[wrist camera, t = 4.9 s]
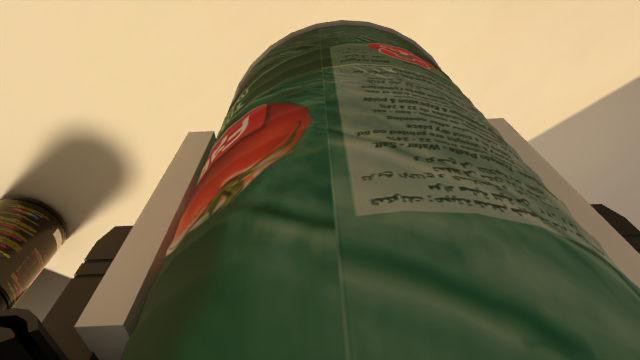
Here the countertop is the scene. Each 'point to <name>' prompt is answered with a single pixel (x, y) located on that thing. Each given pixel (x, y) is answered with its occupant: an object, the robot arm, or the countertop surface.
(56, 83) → the countertop surface
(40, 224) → the supplement container
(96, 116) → the countertop surface
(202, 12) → the countertop surface
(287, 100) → the canned tomato
